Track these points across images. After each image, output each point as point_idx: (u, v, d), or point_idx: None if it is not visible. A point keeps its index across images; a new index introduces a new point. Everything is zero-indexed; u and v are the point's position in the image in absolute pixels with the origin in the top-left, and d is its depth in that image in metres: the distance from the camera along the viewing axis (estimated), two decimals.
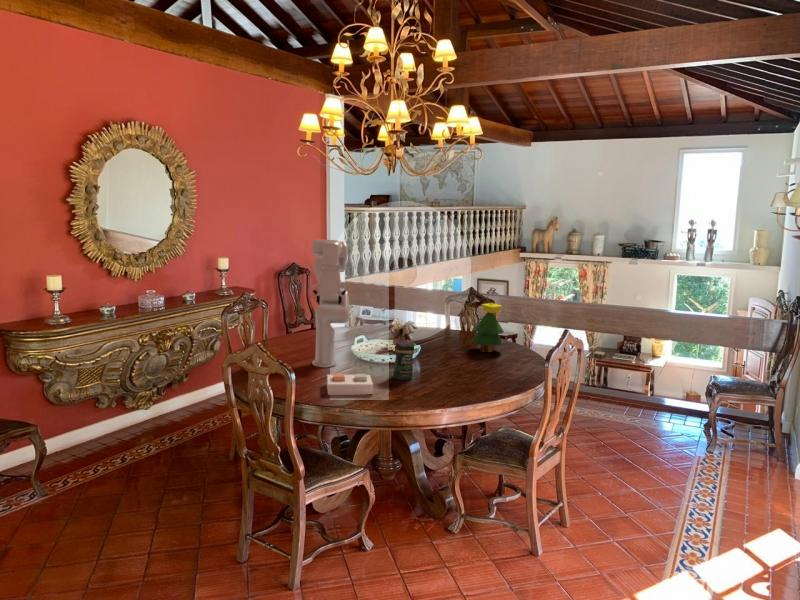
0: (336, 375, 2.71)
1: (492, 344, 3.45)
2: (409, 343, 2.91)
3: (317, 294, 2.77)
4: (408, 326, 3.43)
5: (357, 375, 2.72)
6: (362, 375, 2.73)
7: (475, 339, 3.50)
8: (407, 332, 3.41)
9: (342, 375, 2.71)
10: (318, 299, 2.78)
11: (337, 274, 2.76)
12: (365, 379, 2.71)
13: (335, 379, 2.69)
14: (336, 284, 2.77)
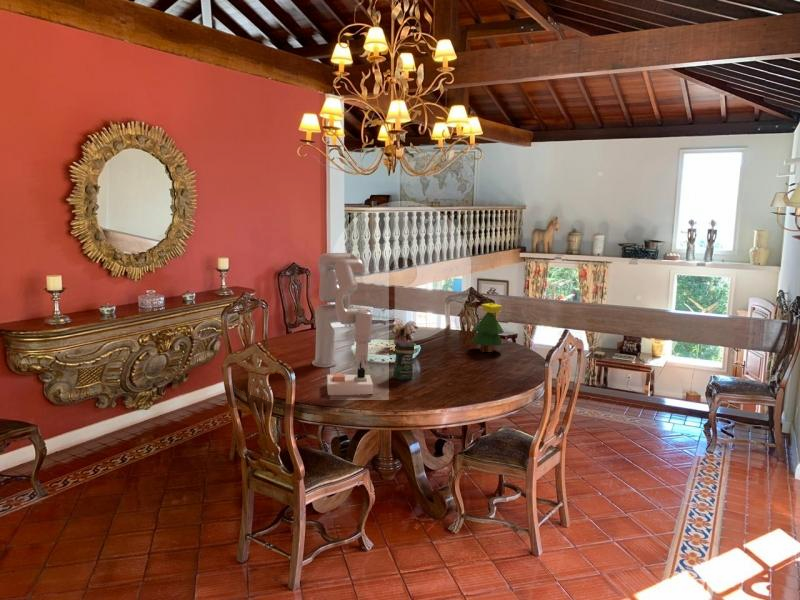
0: (336, 375, 2.71)
1: (492, 344, 3.45)
2: (409, 343, 2.91)
3: (364, 368, 2.71)
4: (409, 326, 3.43)
5: (357, 377, 2.72)
6: None
7: (475, 339, 3.50)
8: (408, 332, 3.41)
9: (342, 375, 2.71)
10: (364, 372, 2.72)
11: None
12: None
13: (335, 379, 2.69)
14: None
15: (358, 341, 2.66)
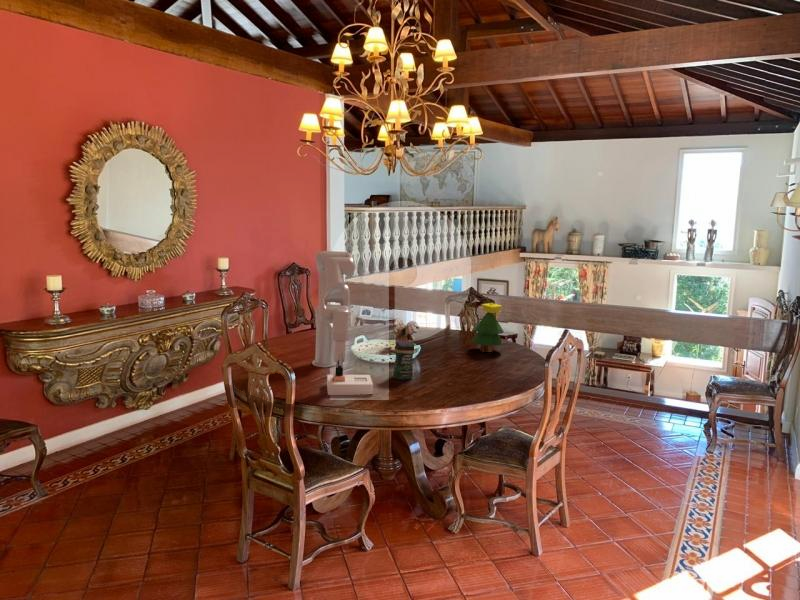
0: None
1: (492, 344, 3.45)
2: (409, 343, 2.91)
3: (342, 366, 2.69)
4: (411, 326, 3.44)
5: (357, 380, 2.73)
6: (362, 380, 2.73)
7: (475, 339, 3.50)
8: (410, 332, 3.41)
9: None
10: (342, 370, 2.70)
11: None
12: None
13: (335, 379, 2.69)
14: None
15: (336, 339, 2.65)
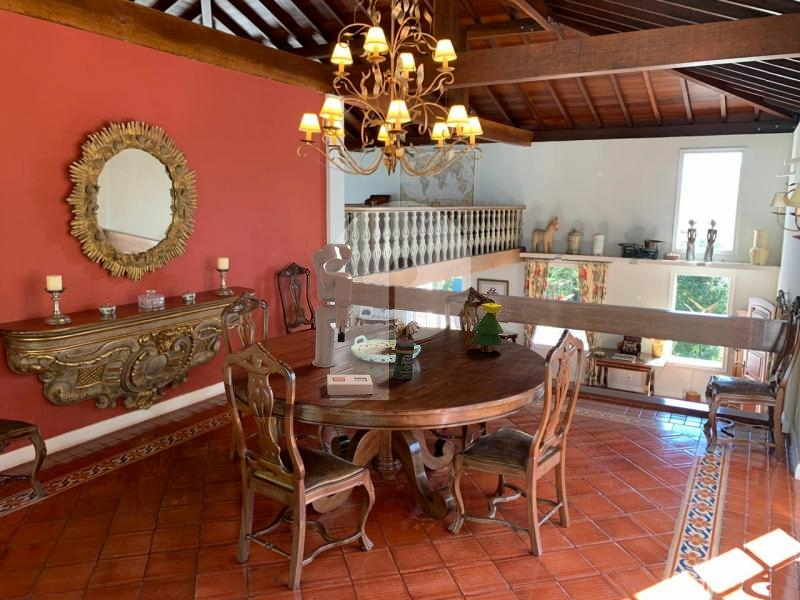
0: (336, 378, 2.71)
1: (492, 344, 3.45)
2: (409, 343, 2.91)
3: (344, 332, 2.70)
4: (411, 326, 3.44)
5: (357, 380, 2.73)
6: (362, 380, 2.73)
7: (475, 339, 3.50)
8: (411, 332, 3.41)
9: (342, 379, 2.71)
10: (344, 337, 2.71)
11: None
12: None
13: None
14: None
15: (338, 305, 2.65)
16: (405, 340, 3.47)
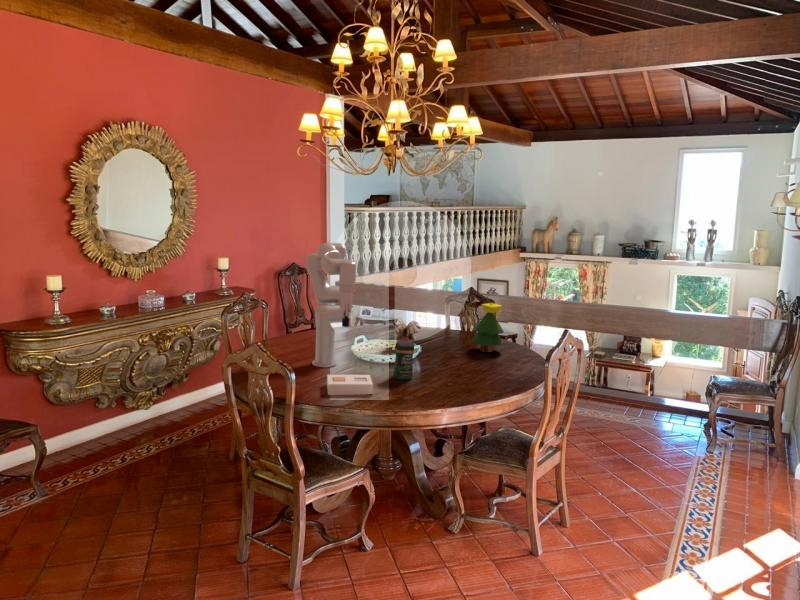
0: (336, 378, 2.71)
1: (492, 344, 3.45)
2: (409, 343, 2.91)
3: (348, 317, 2.78)
4: (412, 326, 3.44)
5: (357, 380, 2.73)
6: (362, 380, 2.73)
7: (475, 339, 3.50)
8: (411, 332, 3.41)
9: (342, 379, 2.71)
10: None
11: None
12: None
13: None
14: None
15: (342, 290, 2.73)
16: (406, 340, 3.47)
